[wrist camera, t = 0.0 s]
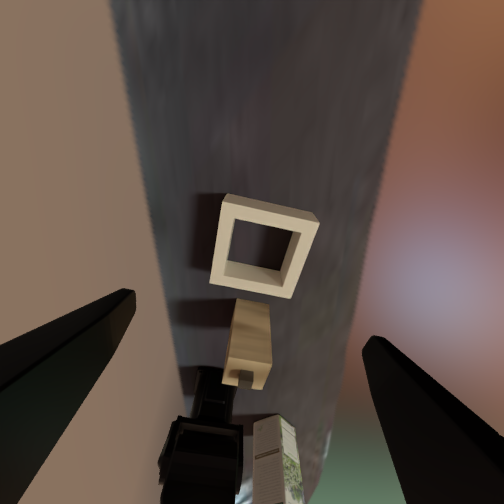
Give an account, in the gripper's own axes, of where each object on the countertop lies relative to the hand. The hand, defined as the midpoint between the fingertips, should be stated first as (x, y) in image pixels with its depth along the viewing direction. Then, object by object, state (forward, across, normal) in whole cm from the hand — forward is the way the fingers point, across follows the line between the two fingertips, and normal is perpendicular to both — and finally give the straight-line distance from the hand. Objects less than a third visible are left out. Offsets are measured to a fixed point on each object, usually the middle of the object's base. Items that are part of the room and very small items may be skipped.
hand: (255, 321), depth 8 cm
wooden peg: (+15, -2, +13) cm, 20 cm away
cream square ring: (+15, -1, +3) cm, 15 cm away
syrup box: (+15, -12, +38) cm, 43 cm away
